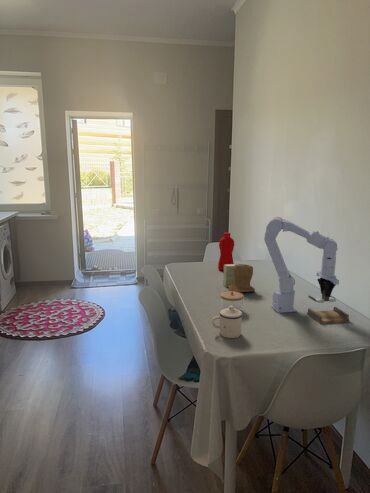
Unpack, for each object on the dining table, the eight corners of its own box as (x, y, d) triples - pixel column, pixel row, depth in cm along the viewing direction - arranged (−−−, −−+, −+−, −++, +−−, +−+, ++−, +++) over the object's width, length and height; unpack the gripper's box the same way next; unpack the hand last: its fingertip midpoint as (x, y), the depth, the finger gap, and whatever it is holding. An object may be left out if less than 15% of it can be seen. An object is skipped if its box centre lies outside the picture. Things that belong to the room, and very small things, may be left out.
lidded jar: (216, 307, 177) (216, 289, 175) (235, 305, 181) (236, 286, 179) (226, 316, 167) (227, 296, 165) (247, 313, 171) (248, 293, 169)
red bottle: (236, 268, 248) (237, 232, 243) (229, 272, 239) (230, 234, 234) (223, 266, 253) (225, 230, 248) (216, 270, 244) (217, 232, 239)
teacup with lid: (239, 329, 154) (240, 302, 151) (243, 338, 145) (244, 310, 142) (210, 328, 153) (211, 302, 151) (212, 338, 145) (213, 310, 142)
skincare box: (225, 287, 209) (226, 266, 206) (222, 284, 213) (223, 264, 211) (235, 286, 210) (236, 265, 208) (232, 284, 215) (233, 263, 212)
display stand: (320, 323, 160) (320, 317, 159) (307, 314, 170) (307, 308, 170) (348, 321, 163) (349, 315, 162) (334, 312, 173) (334, 306, 173)
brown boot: (250, 287, 210) (251, 261, 206) (257, 294, 198) (258, 266, 195) (224, 287, 207) (225, 262, 204) (229, 294, 196) (230, 267, 193)
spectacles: (317, 302, 166) (318, 292, 165) (308, 297, 173) (309, 287, 172) (337, 301, 168) (338, 291, 167) (327, 295, 175) (328, 286, 175)
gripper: (346, 270, 159) (343, 300, 162) (327, 262, 173) (324, 289, 176) (331, 270, 158) (328, 301, 161) (313, 262, 172) (311, 290, 175)
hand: (325, 295), depth 168 cm, fingers closed on spectacles, 3 cm apart
